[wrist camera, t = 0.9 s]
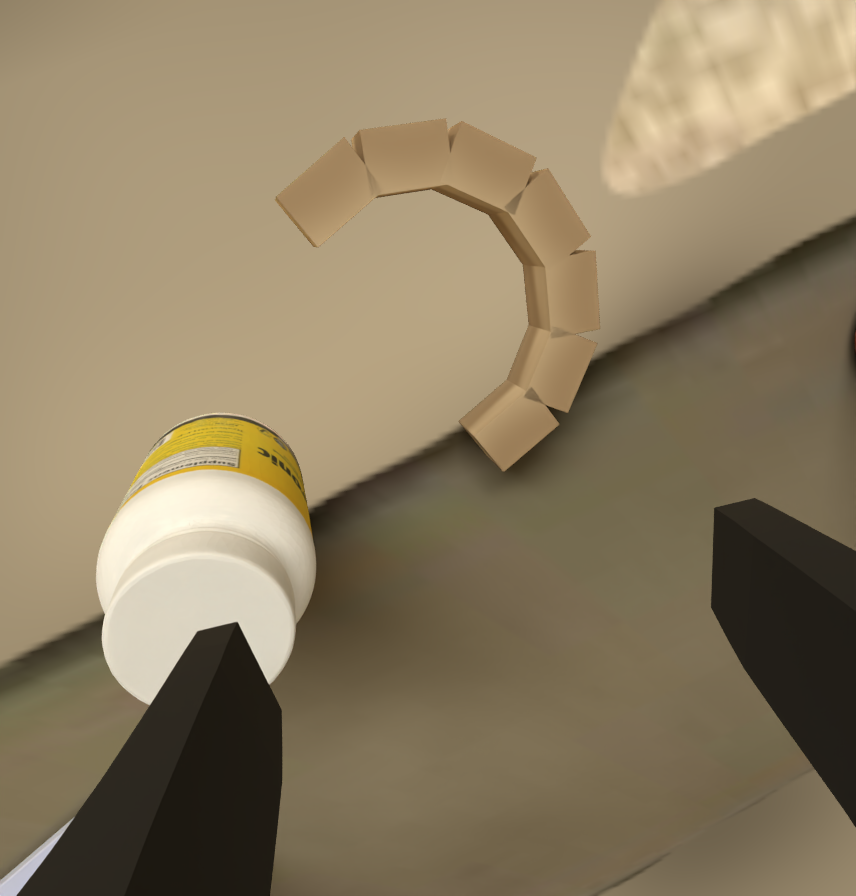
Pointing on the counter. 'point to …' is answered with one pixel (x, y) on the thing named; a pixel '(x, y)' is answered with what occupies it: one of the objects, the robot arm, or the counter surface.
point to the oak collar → (522, 225)
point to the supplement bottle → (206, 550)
